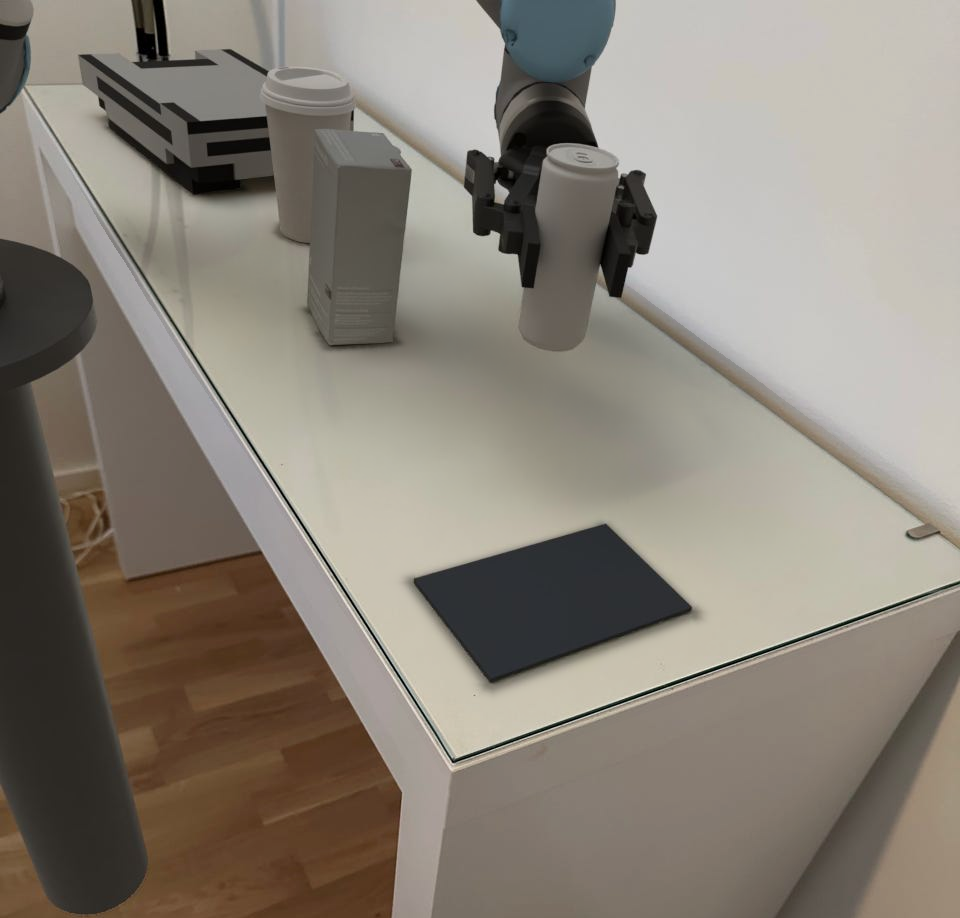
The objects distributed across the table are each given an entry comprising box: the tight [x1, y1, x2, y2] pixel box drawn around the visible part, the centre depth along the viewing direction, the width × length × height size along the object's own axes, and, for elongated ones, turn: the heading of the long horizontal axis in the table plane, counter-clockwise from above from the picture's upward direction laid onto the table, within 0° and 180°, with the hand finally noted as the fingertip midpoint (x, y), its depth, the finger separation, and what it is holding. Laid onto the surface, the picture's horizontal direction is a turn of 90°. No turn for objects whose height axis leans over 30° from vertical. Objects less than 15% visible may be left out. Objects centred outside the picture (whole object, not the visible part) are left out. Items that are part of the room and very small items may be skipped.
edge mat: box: [413, 523, 693, 684], centre depth 61 cm, size 10×16×1 cm, turn 121°
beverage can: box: [517, 143, 620, 353], centre depth 61 cm, size 5×5×12 cm
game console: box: [77, 48, 355, 195], centre depth 114 cm, size 21×32×8 cm, turn 37°
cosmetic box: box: [306, 129, 413, 346], centre depth 81 cm, size 8×7×16 cm
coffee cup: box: [260, 65, 357, 244], centre depth 96 cm, size 10×10×15 cm
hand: (575, 270), depth 56 cm, fingers closed on beverage can, 5 cm apart
